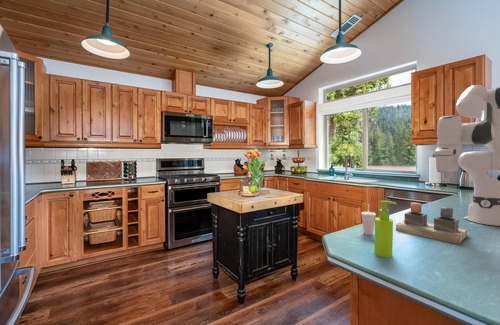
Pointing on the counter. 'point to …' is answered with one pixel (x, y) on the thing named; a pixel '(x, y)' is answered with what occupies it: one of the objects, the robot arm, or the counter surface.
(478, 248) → the counter surface
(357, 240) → the counter surface
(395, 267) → the counter surface
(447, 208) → the grey cube
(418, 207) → the terracotta button
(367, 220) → the smoothie
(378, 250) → the soap dispenser
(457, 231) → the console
